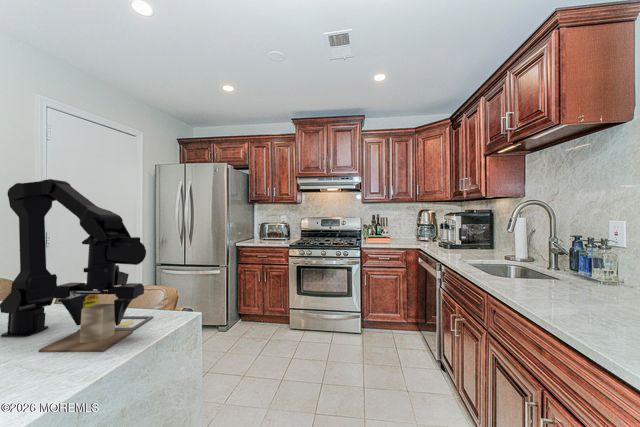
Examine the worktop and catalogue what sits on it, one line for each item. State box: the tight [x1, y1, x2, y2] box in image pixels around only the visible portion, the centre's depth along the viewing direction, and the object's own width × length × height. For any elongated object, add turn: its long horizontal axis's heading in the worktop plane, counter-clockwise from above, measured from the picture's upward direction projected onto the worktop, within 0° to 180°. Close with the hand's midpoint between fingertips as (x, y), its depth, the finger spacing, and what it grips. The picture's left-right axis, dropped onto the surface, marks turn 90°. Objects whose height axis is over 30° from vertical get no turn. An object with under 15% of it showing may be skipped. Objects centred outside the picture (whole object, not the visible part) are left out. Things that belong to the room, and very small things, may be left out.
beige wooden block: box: [79, 303, 116, 343], centre depth 73 cm, size 5×5×8 cm
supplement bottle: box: [81, 280, 100, 309], centre depth 95 cm, size 6×6×10 cm
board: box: [37, 330, 134, 353], centre depth 72 cm, size 14×12×1 cm
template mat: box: [77, 315, 154, 332], centre depth 85 cm, size 14×12×1 cm
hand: (98, 325), depth 73 cm, fingers open, 9 cm apart
